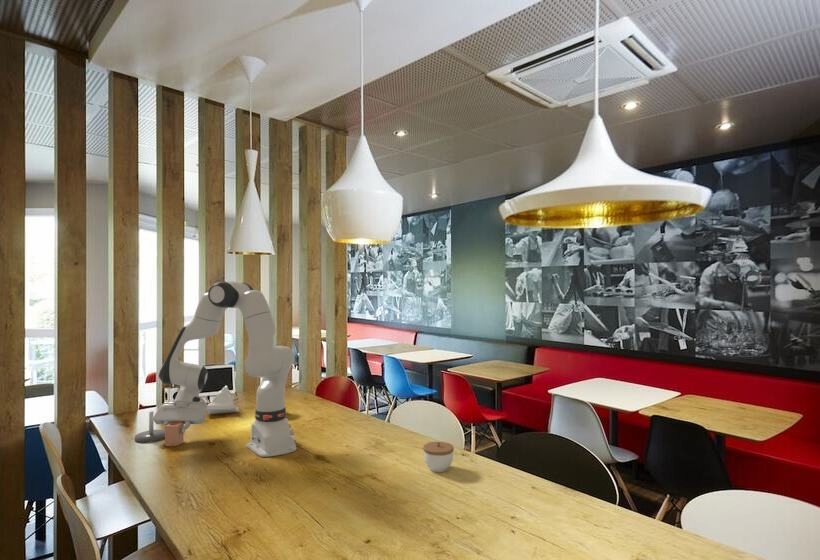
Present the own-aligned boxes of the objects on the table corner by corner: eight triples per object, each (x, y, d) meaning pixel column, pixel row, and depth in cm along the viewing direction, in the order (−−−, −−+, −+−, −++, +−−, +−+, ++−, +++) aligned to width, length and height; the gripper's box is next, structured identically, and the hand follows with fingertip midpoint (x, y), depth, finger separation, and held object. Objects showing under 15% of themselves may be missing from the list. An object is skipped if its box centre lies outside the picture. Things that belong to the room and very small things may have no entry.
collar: (183, 441, 187) (183, 422, 187) (177, 445, 182) (177, 426, 182) (171, 441, 187) (171, 422, 187) (164, 445, 182) (165, 426, 182)
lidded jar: (428, 476, 154) (428, 448, 154) (419, 464, 164) (419, 438, 164) (458, 473, 157) (458, 445, 157) (447, 461, 167) (447, 435, 167)
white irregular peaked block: (207, 414, 232) (210, 385, 236) (238, 414, 237) (241, 386, 241) (204, 414, 221) (208, 384, 225) (237, 414, 225) (240, 385, 229)
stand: (167, 439, 190) (168, 413, 190) (134, 444, 184) (134, 417, 184) (166, 431, 200) (166, 406, 200) (134, 436, 194) (135, 410, 194)
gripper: (158, 398, 192) (144, 429, 182) (206, 398, 192) (195, 429, 182) (163, 406, 196) (150, 436, 186) (211, 406, 196) (200, 436, 187)
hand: (173, 433), depth 184 cm, fingers closed on collar, 5 cm apart
